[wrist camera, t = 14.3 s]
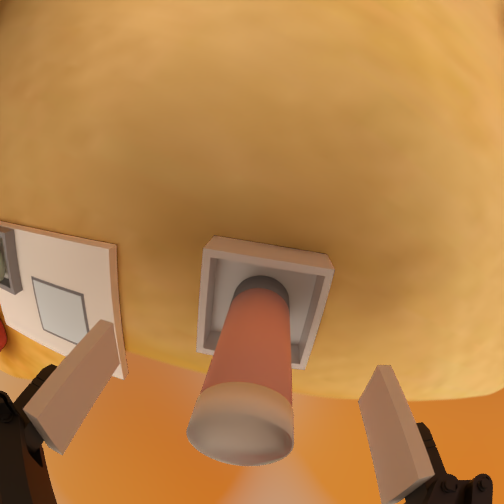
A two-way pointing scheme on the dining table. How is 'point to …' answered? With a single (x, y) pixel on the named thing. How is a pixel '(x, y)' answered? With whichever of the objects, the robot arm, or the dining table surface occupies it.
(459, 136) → the dining table surface
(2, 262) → the button
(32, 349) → the dining table surface
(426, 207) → the dining table surface
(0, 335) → the flower pot
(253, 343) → the tumbler
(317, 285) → the tray
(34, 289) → the board
